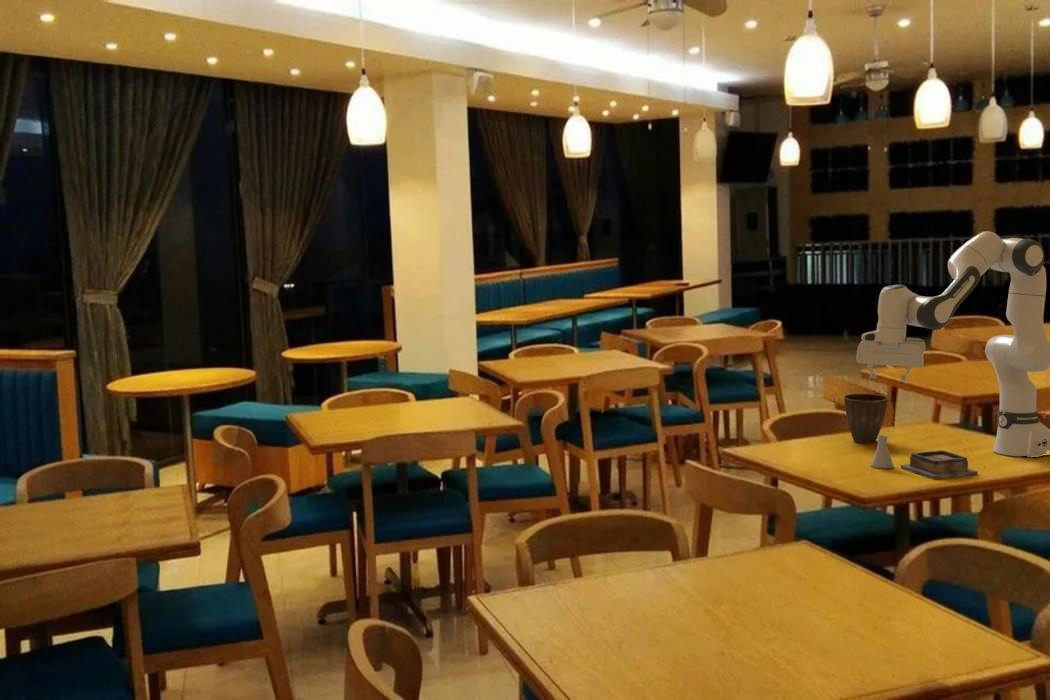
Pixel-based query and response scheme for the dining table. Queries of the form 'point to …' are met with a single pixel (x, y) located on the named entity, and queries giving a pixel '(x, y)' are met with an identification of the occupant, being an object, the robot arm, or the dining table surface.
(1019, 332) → the robot arm
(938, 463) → the walnut plinth
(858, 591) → the dining table surface
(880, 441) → the flask
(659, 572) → the dining table surface
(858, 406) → the plant pot
